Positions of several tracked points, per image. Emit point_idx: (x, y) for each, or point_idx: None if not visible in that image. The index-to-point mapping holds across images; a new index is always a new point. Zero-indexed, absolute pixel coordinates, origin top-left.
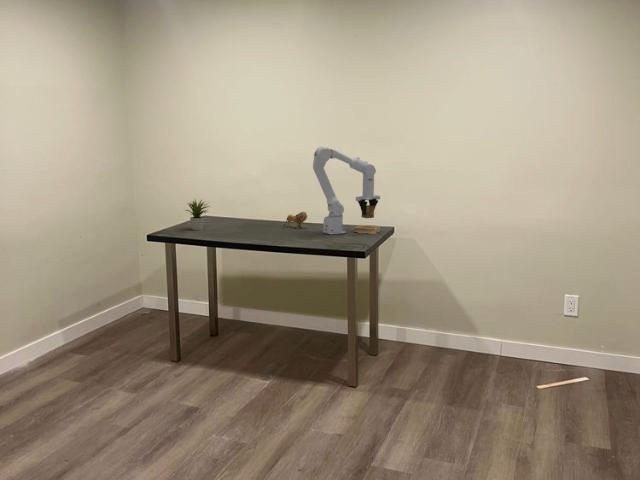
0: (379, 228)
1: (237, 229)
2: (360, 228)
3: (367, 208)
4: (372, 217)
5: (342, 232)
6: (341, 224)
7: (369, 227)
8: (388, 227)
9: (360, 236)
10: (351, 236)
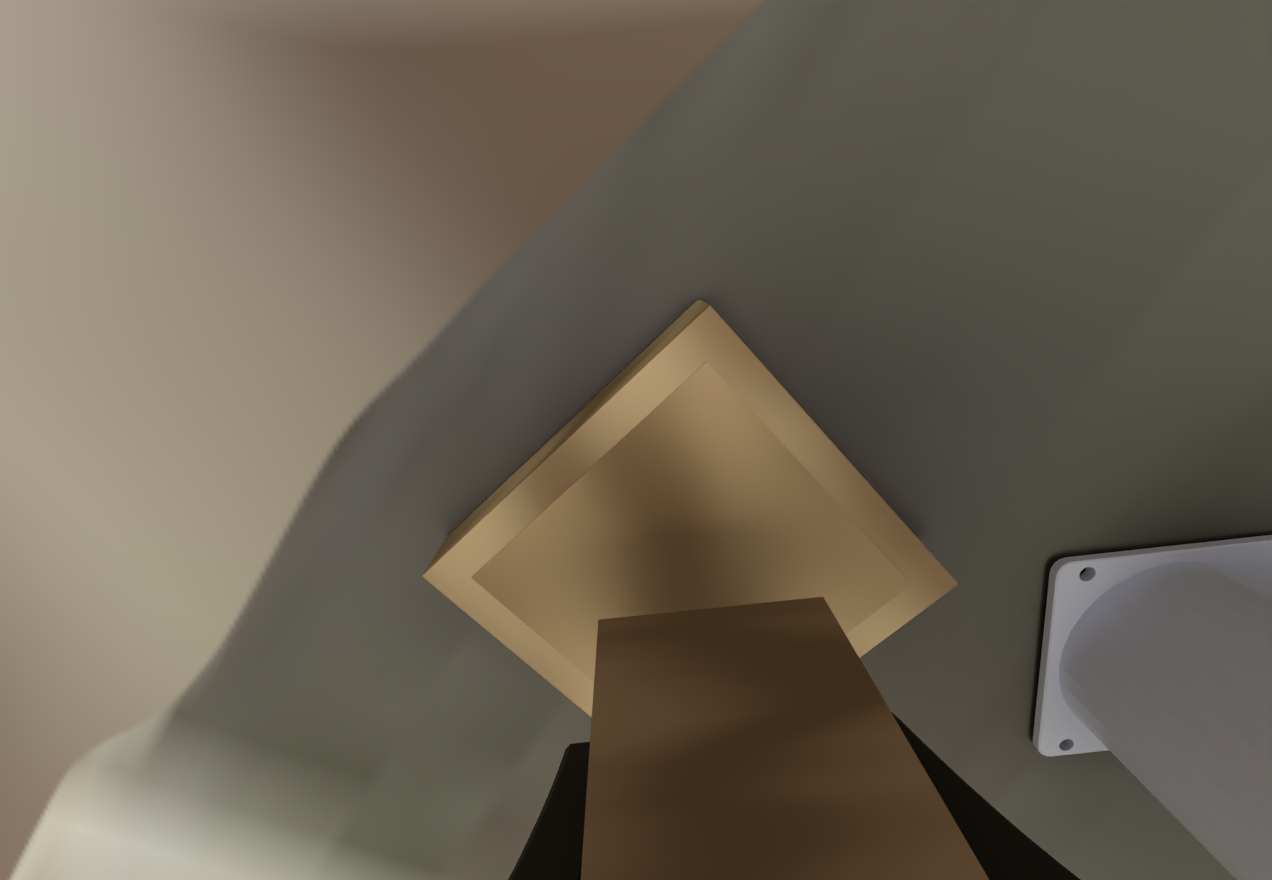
0: (475, 518)
1: None
2: (890, 508)
3: (940, 833)
4: (644, 620)
5: (1133, 556)
6: (1265, 649)
7: (702, 509)
8: (189, 719)
9: (1060, 205)
10: (1183, 275)
